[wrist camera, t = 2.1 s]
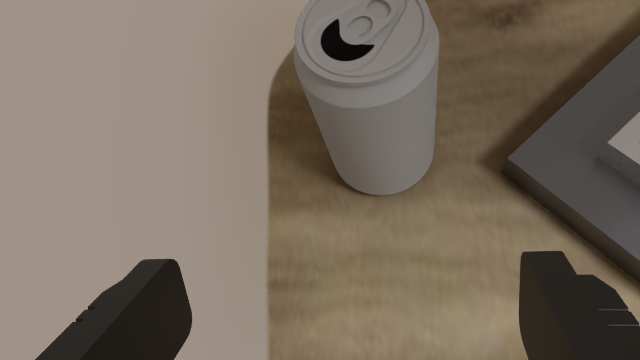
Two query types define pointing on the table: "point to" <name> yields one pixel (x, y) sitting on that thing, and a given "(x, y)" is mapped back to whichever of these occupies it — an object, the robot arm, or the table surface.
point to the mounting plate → (592, 161)
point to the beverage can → (371, 87)
